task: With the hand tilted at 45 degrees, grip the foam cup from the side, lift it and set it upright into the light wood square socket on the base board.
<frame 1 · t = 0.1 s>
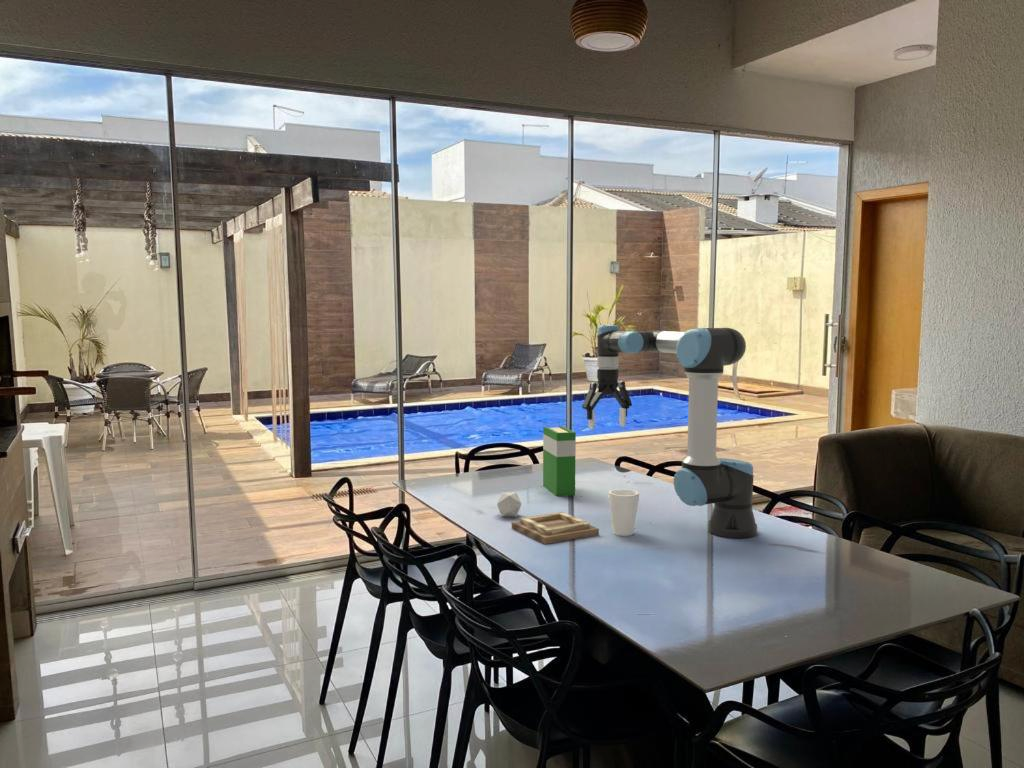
hand: (607, 427, 287), 28 cm above the table, tool pointing down, fingers open, 13 cm apart
base board: (554, 531, 255), on the table
die: (509, 516, 274), on the table
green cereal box: (558, 490, 311), on the table
foam cup: (623, 533, 253), on the table
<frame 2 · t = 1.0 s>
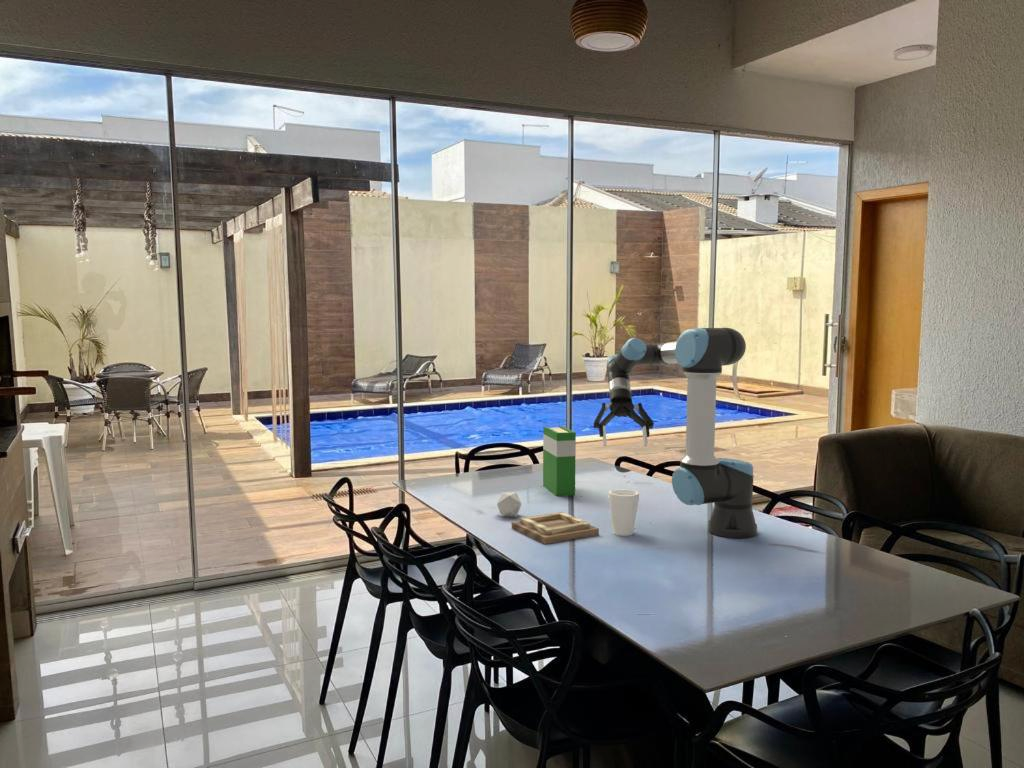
hand: (625, 444, 266), 26 cm above the table, tool tilted 45°, fingers open, 13 cm apart
nothing on the table moved.
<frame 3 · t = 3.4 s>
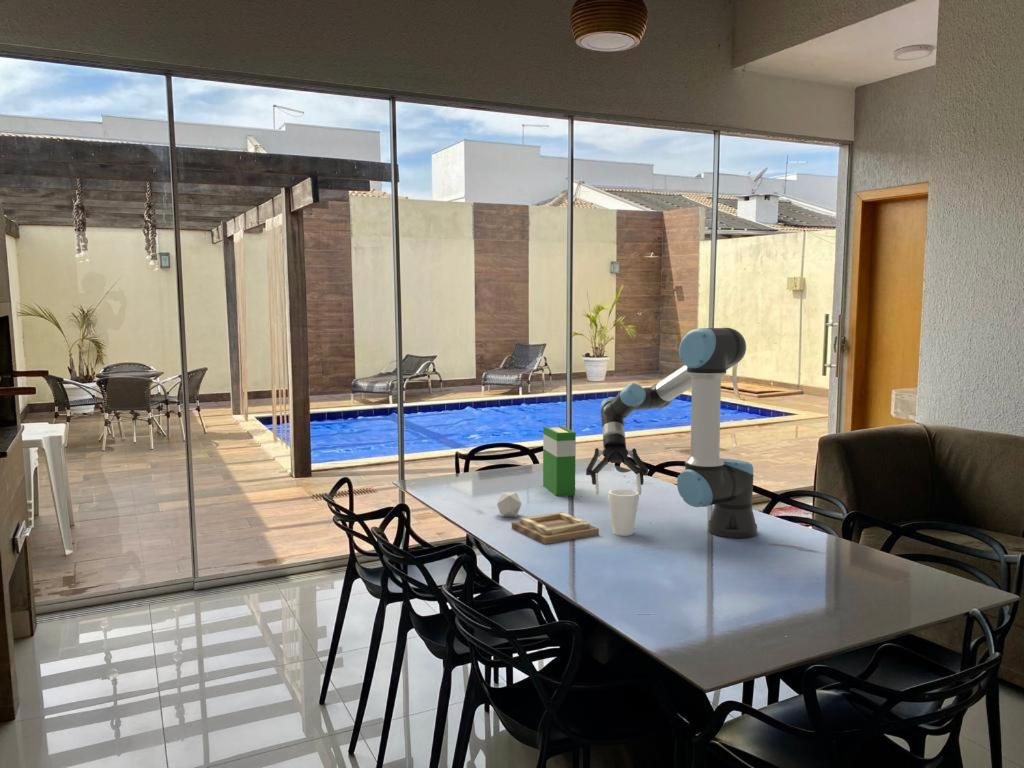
hand: (618, 492, 258), 11 cm above the table, tool tilted 45°, fingers open, 13 cm apart
nothing on the table moved.
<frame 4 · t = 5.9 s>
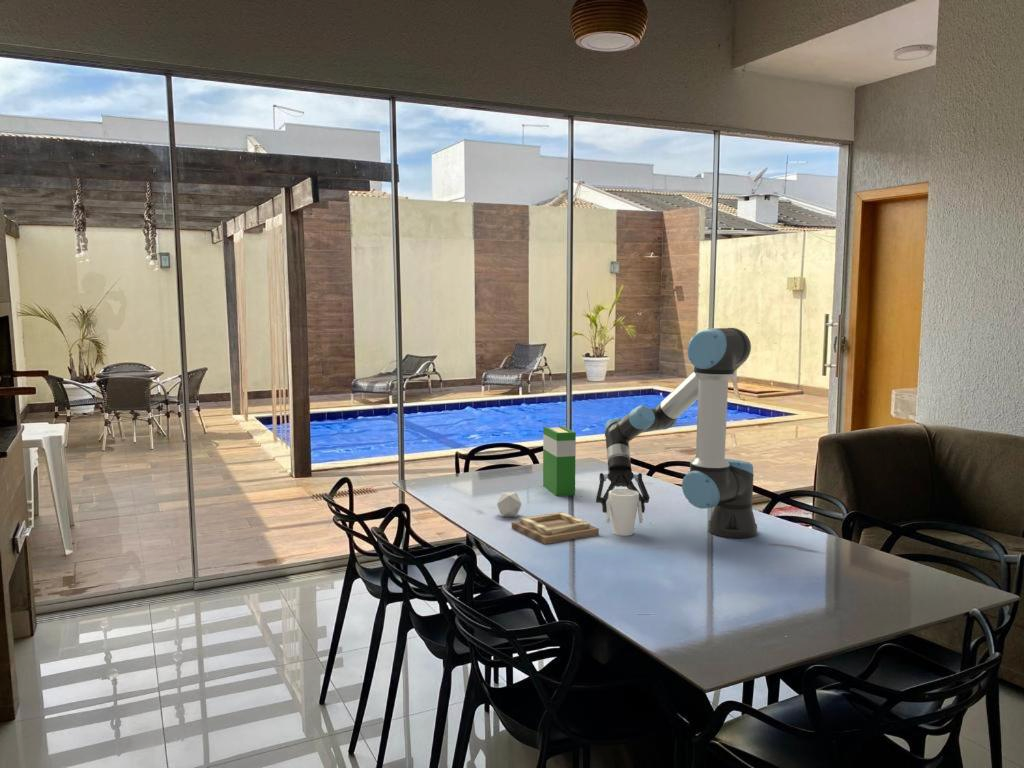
hand: (624, 521, 250), 5 cm above the table, tool tilted 45°, fingers closed on foam cup, 9 cm apart
foam cup: (623, 533, 253), on the table, touching gripper
everything else where it was.
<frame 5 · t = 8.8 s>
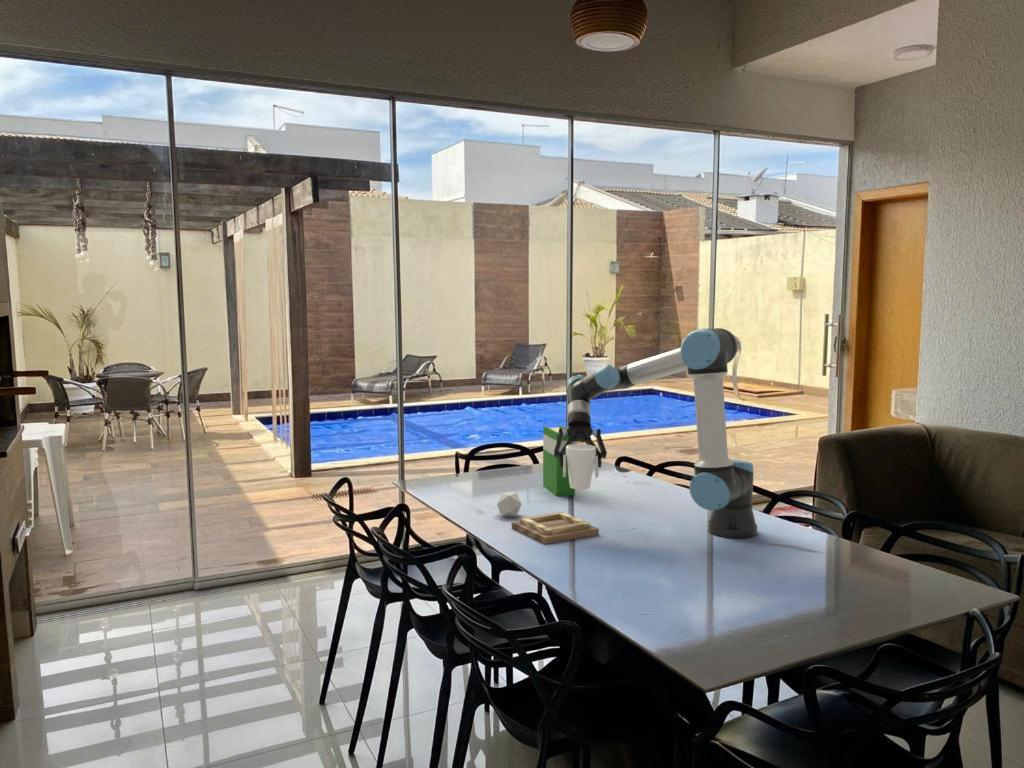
hand: (580, 475, 251), 19 cm above the table, tool tilted 45°, fingers closed on foam cup, 9 cm apart
foam cup: (579, 487, 255), point 14 cm above the table, touching gripper
everything else where it was.
when the fingers open (8 cm above the table, at t = 11.9 s): foam cup drops 1 cm, resting on base board.
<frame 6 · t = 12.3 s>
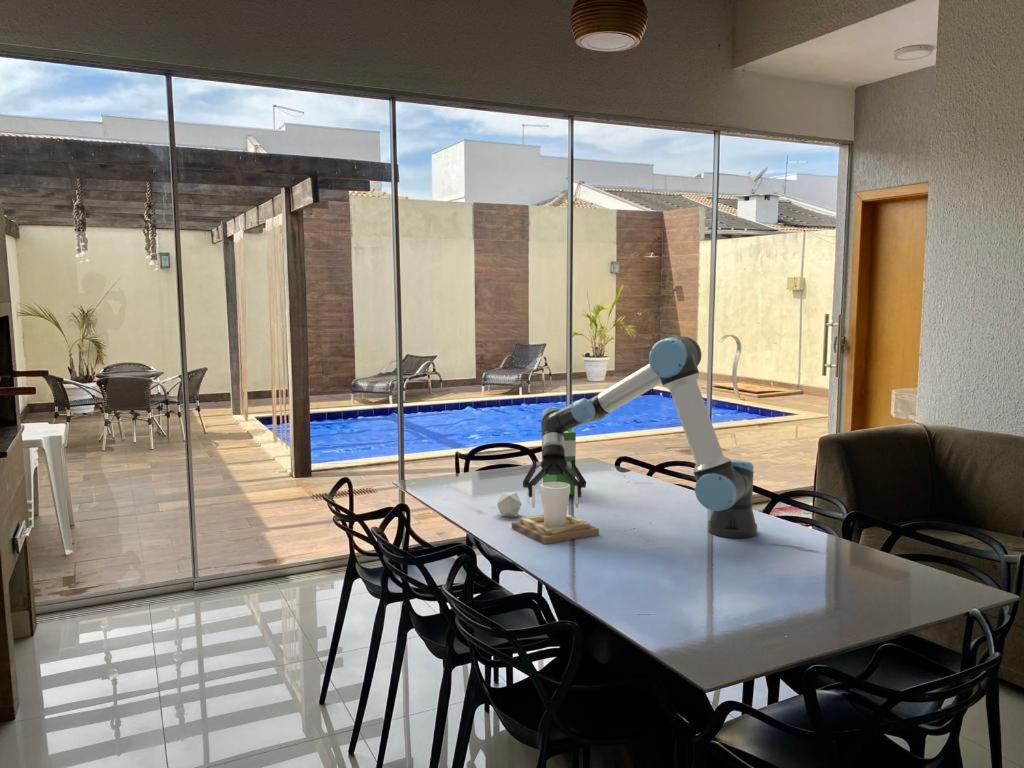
hand: (555, 505, 251), 9 cm above the table, tool tilted 45°, fingers open, 13 cm apart
foam cup: (554, 525, 255), point 2 cm above the table, touching base board
everything else where it was.
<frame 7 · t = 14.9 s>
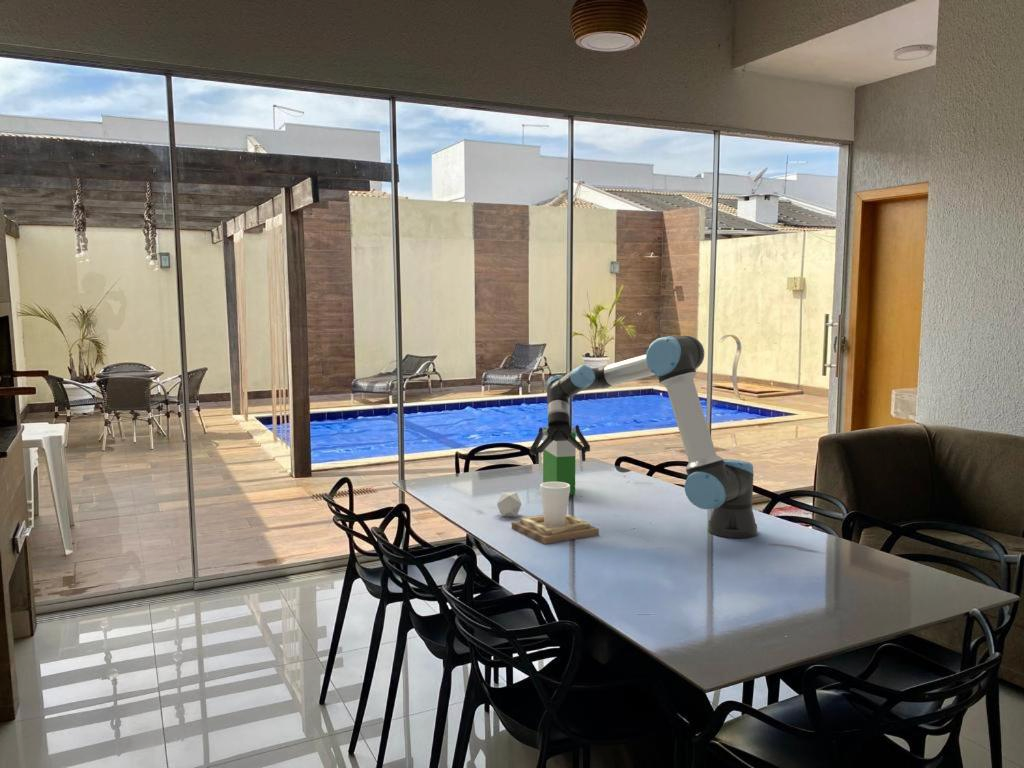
hand: (560, 470, 265), 17 cm above the table, tool tilted 40°, fingers open, 13 cm apart
nothing on the table moved.
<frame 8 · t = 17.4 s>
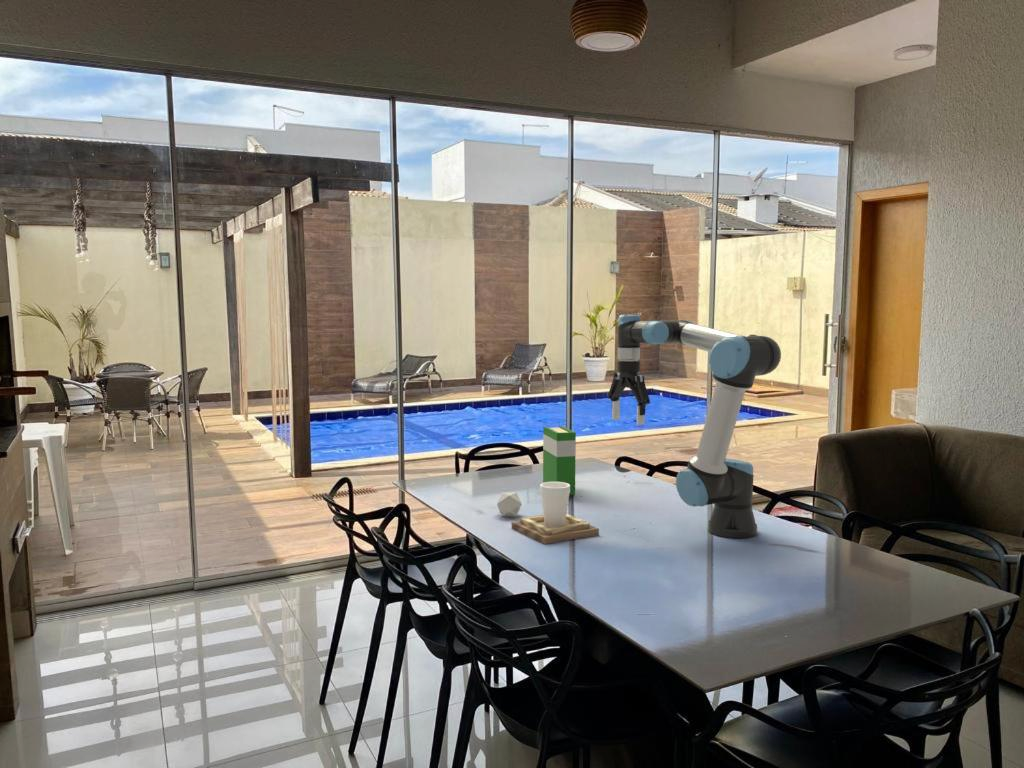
hand: (627, 422, 274), 32 cm above the table, tool pointing down, fingers open, 13 cm apart
nothing on the table moved.
at the end: foam cup inside the target area on the base board (0.1 cm from its centre), point 1.8 cm above the base board's base; foam cup tilted 0°; the gripper is holding nothing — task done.
